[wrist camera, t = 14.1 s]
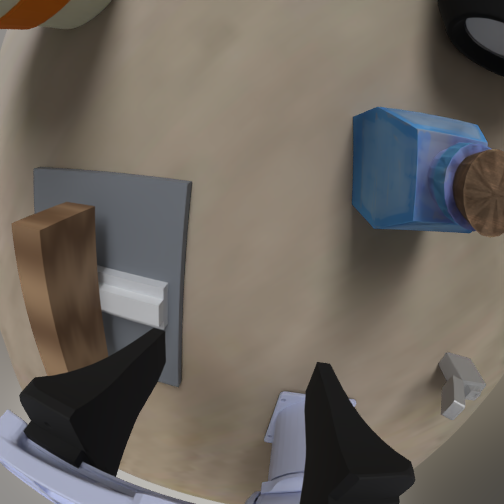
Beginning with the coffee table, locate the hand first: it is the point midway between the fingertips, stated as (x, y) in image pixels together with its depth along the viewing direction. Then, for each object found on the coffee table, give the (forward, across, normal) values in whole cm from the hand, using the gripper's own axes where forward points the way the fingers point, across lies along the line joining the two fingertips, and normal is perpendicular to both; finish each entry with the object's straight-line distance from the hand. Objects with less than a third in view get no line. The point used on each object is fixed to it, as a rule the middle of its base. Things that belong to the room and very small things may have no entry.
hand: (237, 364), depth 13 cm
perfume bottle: (+11, -8, -10) cm, 17 cm away
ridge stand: (+10, +14, +4) cm, 18 cm away
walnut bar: (+7, +14, +4) cm, 16 cm away
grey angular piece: (+11, -20, +6) cm, 23 cm away
